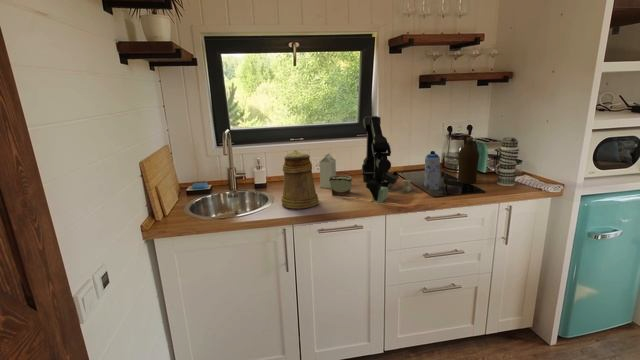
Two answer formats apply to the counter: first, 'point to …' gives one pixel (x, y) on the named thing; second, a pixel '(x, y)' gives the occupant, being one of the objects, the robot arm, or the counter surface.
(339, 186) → the food container
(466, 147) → the olive oil
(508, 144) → the decorative candle
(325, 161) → the milk carton
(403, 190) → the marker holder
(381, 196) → the sage cap
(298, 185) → the tankard
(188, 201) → the counter surface
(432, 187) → the aerosol can
